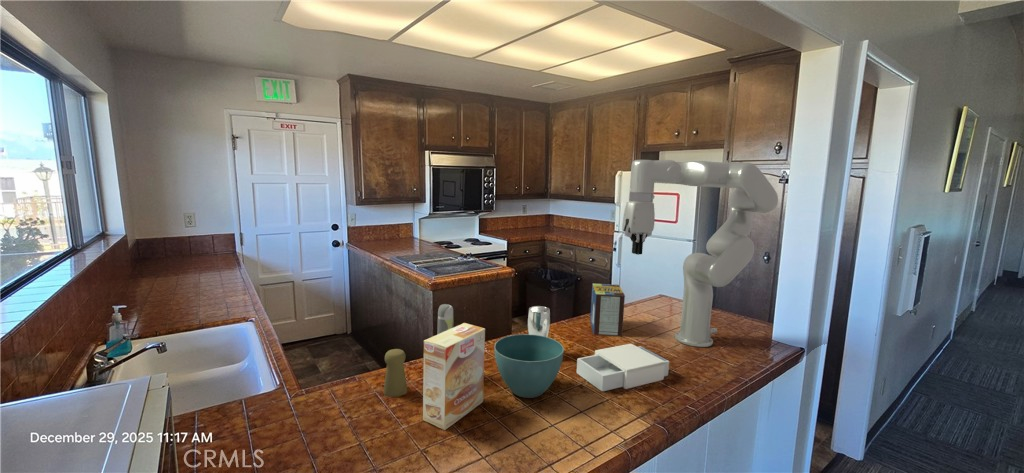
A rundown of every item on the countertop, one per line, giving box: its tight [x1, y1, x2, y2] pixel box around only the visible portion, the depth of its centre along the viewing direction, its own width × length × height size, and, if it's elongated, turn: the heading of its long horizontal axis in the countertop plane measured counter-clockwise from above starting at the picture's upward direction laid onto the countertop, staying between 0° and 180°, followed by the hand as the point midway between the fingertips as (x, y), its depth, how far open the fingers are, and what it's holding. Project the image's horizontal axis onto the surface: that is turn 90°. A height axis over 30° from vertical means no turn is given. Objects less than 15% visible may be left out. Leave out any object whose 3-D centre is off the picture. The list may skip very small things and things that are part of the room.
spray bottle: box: [436, 303, 455, 335], centre depth 121 cm, size 5×5×20 cm
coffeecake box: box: [422, 322, 486, 431], centre depth 102 cm, size 15×7×20 cm, turn 148°
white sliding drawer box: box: [576, 345, 670, 392], centre depth 125 cm, size 24×12×4 cm, turn 116°
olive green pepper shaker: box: [382, 348, 408, 398], centre depth 111 cm, size 6×6×11 cm
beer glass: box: [527, 305, 551, 337], centre depth 136 cm, size 7×7×15 cm
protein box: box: [589, 283, 626, 337], centre depth 162 cm, size 10×15×16 cm
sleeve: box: [594, 343, 665, 390], centre depth 126 cm, size 14×14×6 cm
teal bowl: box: [493, 333, 565, 399], centre depth 113 cm, size 18×18×12 cm
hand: (636, 253), depth 142 cm, fingers closed
